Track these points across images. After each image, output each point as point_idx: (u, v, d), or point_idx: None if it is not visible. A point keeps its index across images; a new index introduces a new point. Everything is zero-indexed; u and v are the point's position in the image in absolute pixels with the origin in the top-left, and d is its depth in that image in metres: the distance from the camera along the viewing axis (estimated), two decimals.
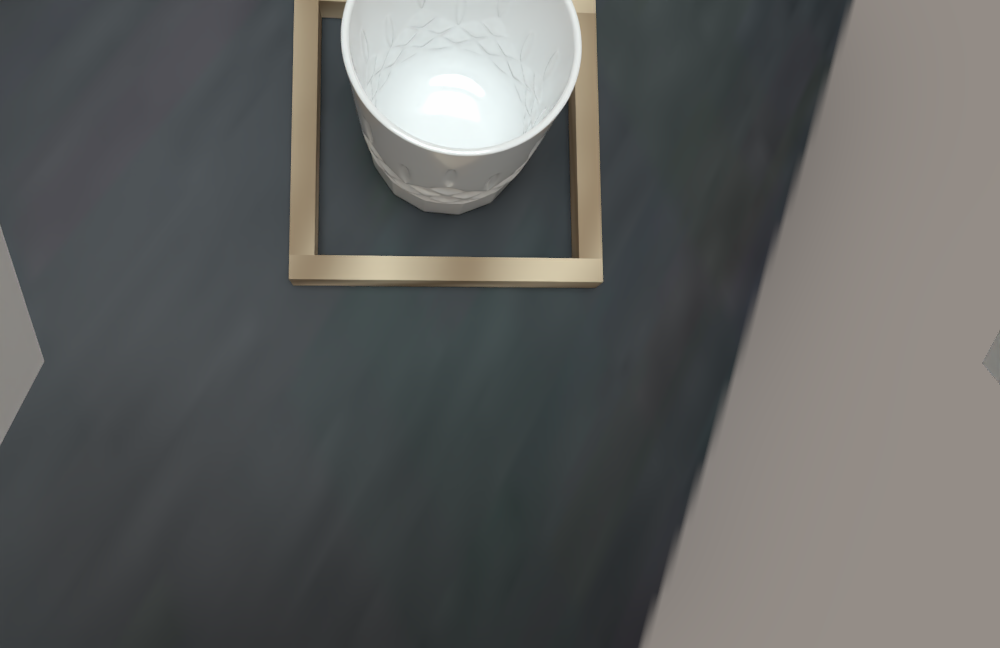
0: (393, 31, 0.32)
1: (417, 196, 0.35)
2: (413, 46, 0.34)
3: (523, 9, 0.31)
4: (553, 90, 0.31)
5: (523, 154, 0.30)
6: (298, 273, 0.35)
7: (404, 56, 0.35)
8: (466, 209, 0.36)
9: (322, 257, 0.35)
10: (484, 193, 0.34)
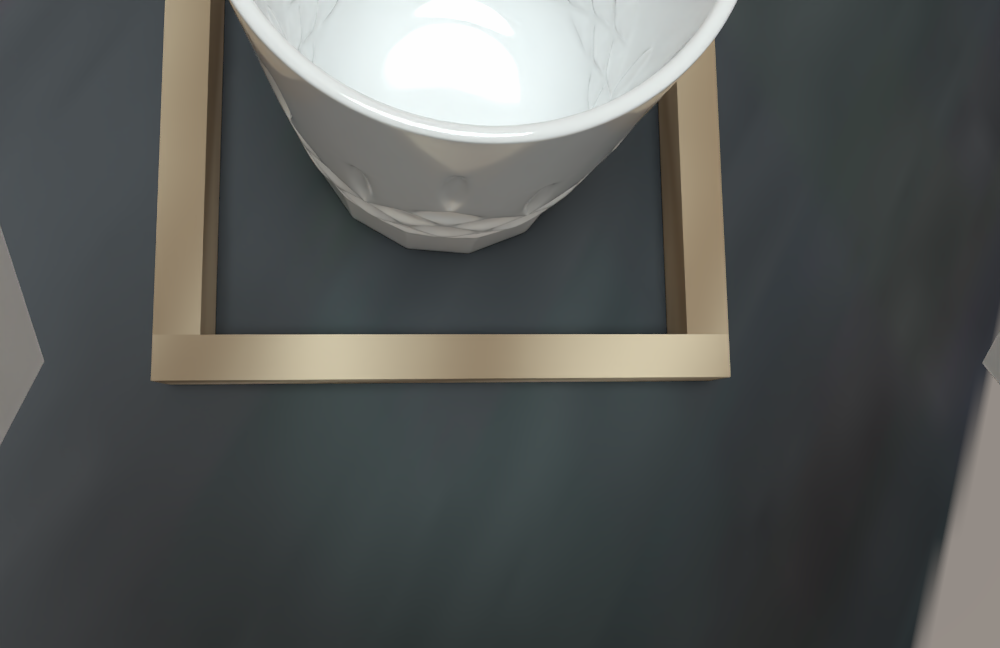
0: None
1: (392, 224, 0.19)
2: None
3: None
4: (671, 7, 0.15)
5: (613, 142, 0.14)
6: (169, 369, 0.18)
7: None
8: (482, 245, 0.20)
9: (215, 338, 0.19)
10: (518, 219, 0.18)
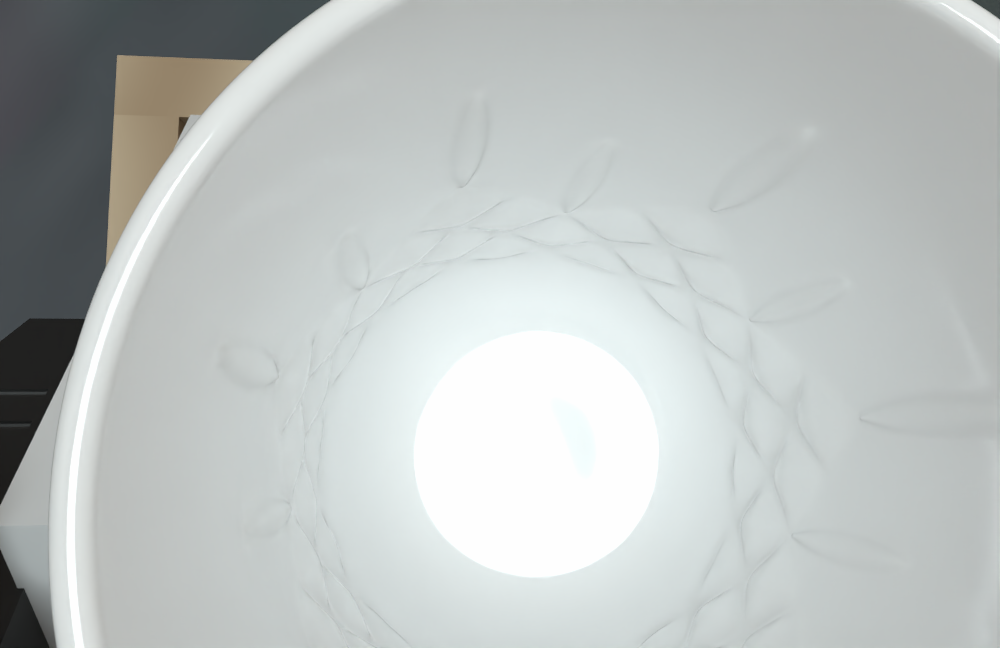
0: (371, 256, 0.10)
1: None
2: (431, 263, 0.12)
3: (836, 215, 0.09)
4: (961, 526, 0.08)
5: None
6: None
7: (405, 288, 0.12)
8: None
9: None
10: None
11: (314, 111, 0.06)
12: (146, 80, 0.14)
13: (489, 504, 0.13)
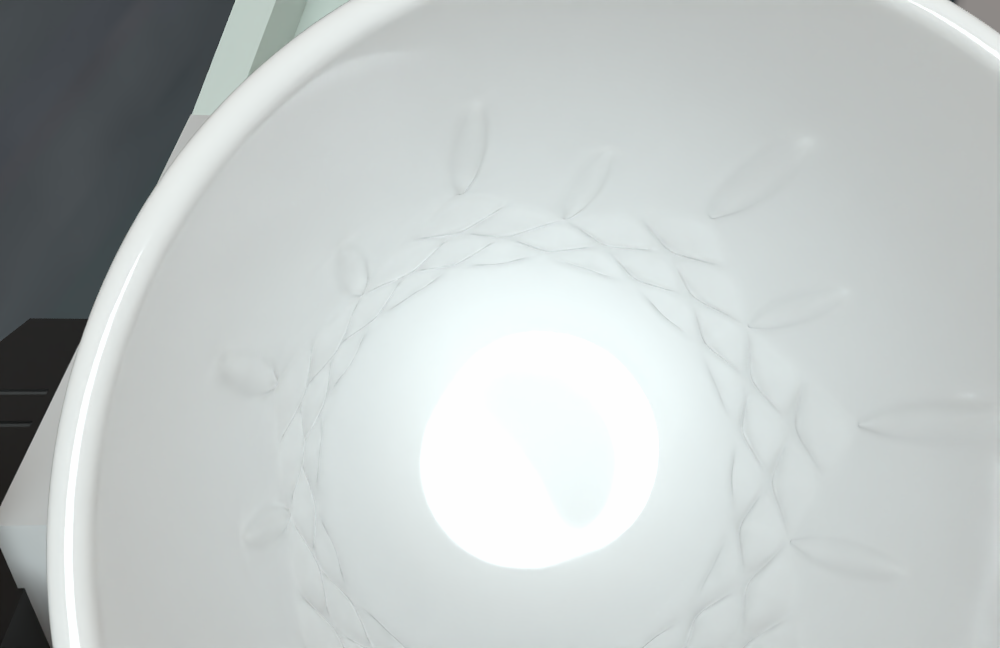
0: (370, 263, 0.10)
1: None
2: (430, 269, 0.12)
3: (834, 223, 0.09)
4: (958, 534, 0.08)
5: None
6: None
7: (404, 294, 0.12)
8: None
9: None
10: None
11: (312, 123, 0.06)
12: None
13: (488, 509, 0.13)
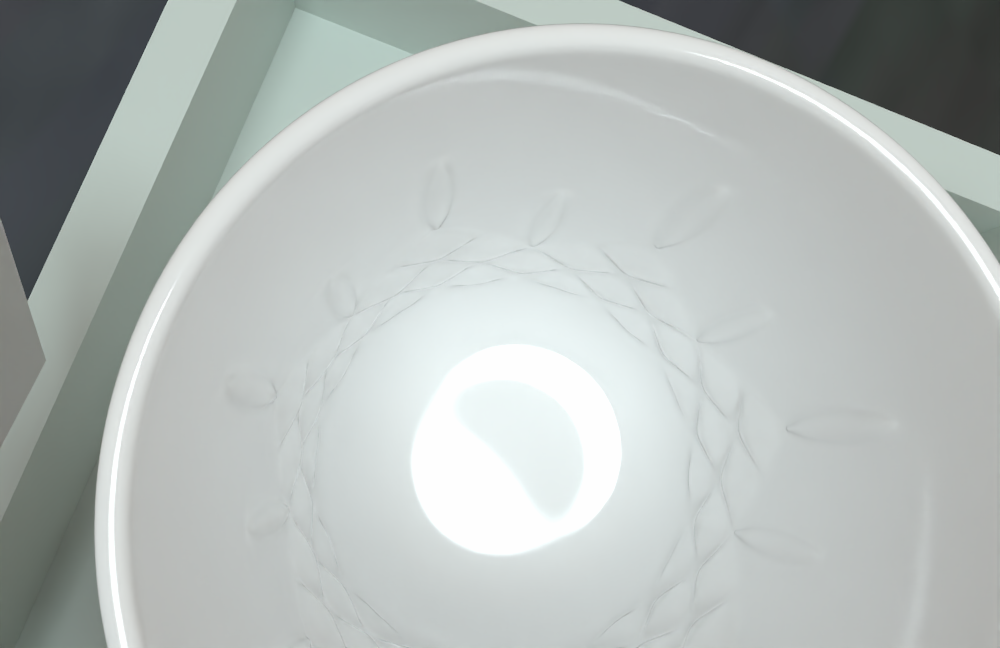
0: (357, 289, 0.11)
1: None
2: (413, 290, 0.13)
3: (754, 256, 0.10)
4: (860, 522, 0.10)
5: None
6: None
7: (391, 313, 0.14)
8: None
9: None
10: None
11: (300, 190, 0.07)
12: None
13: (470, 506, 0.15)
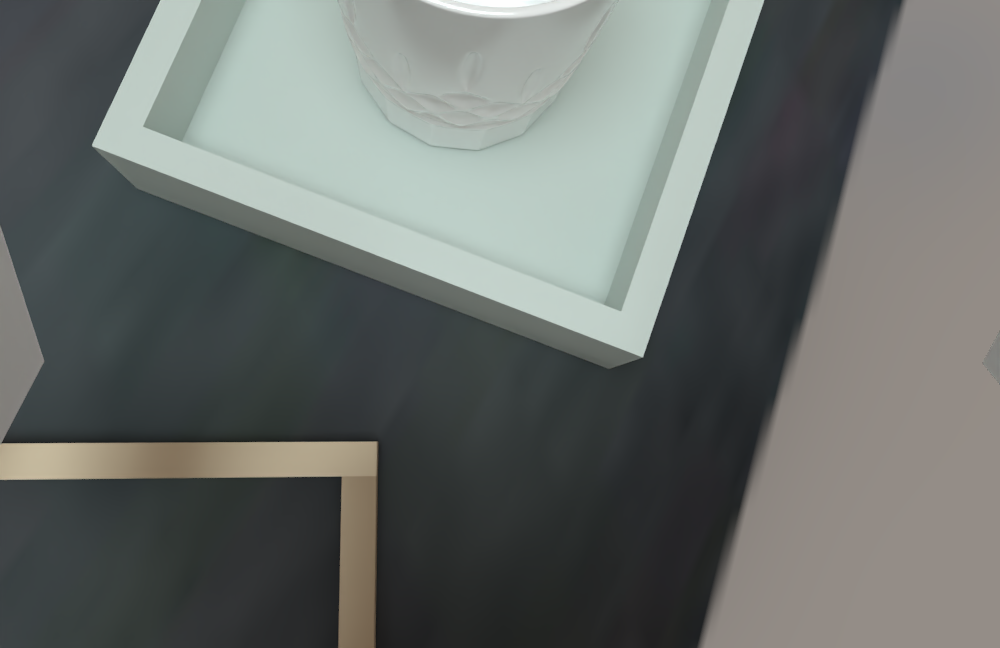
0: None
1: (421, 118, 0.25)
2: None
3: None
4: None
5: (582, 34, 0.20)
6: None
7: None
8: (489, 141, 0.26)
9: None
10: (516, 112, 0.24)
11: None
12: None
13: None
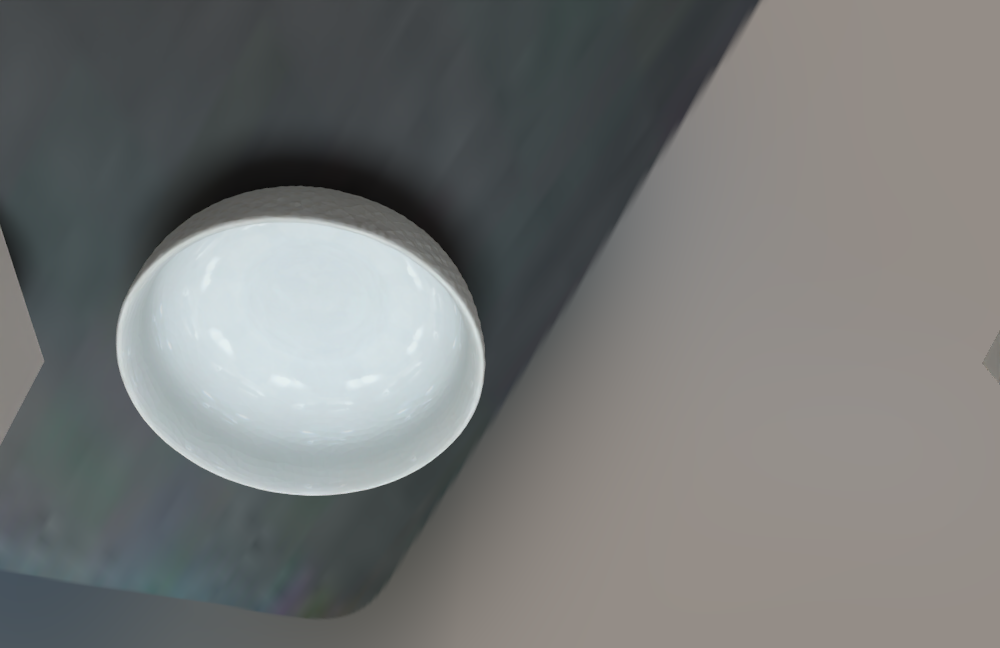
0: None
1: None
2: None
3: None
4: None
5: None
6: None
7: None
8: None
9: None
10: None
11: None
12: None
13: None
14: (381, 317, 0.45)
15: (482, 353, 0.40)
